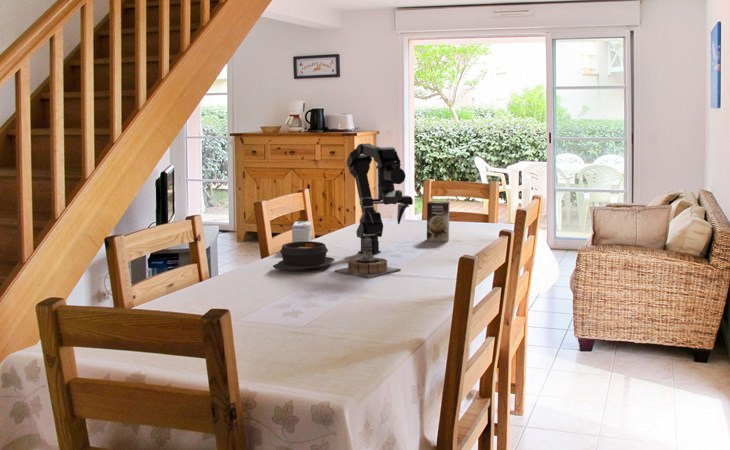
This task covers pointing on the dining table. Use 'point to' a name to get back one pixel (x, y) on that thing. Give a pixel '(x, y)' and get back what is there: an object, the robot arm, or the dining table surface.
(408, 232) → the dining table surface
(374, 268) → the walnut collar
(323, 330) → the dining table surface
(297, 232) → the light bulb box
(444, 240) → the coffee box
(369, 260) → the salt shaker
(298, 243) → the casserole
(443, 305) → the dining table surface
